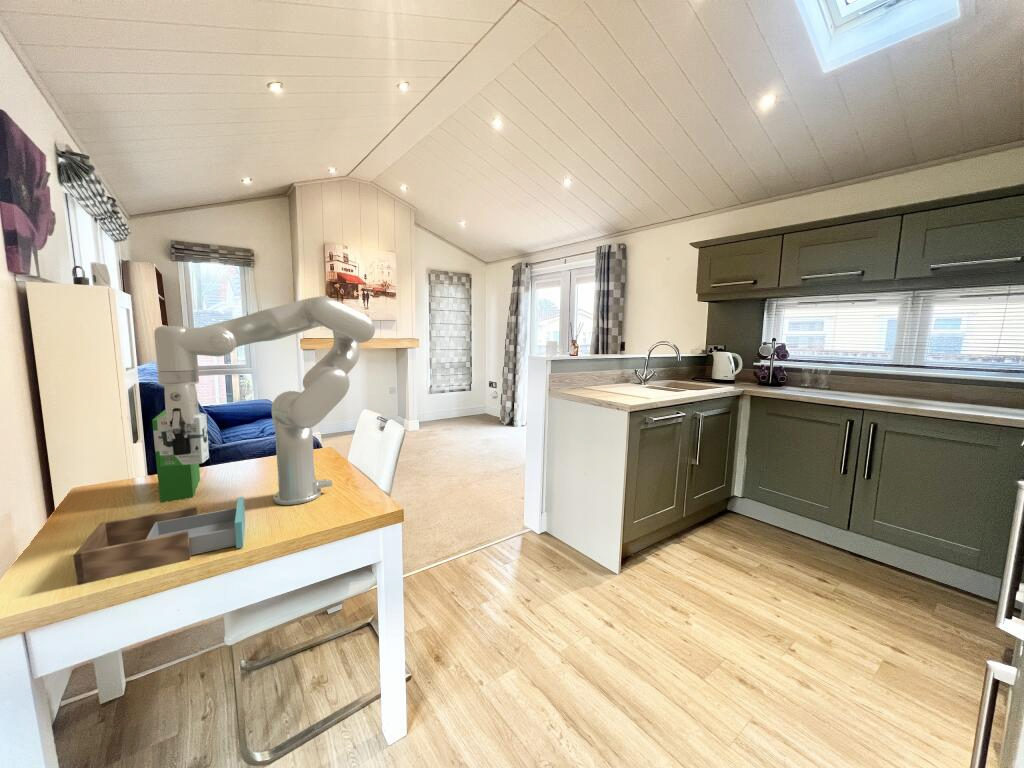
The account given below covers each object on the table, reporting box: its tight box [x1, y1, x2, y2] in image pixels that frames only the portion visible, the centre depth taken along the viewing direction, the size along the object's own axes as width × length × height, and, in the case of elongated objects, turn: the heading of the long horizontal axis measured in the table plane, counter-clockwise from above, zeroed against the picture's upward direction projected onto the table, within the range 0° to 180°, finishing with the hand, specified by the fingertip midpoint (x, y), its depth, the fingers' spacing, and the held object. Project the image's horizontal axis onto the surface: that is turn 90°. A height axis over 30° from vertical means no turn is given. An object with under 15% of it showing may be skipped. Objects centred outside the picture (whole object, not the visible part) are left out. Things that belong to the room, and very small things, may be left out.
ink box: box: [157, 412, 210, 467], centre depth 98 cm, size 9×5×12 cm, turn 111°
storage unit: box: [73, 506, 199, 585], centre depth 87 cm, size 17×16×6 cm
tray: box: [146, 496, 246, 556], centre depth 92 cm, size 17×16×6 cm
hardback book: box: [151, 409, 201, 503], centre depth 122 cm, size 18×7×24 cm, turn 32°
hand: (185, 450), depth 98 cm, fingers closed on ink box, 5 cm apart
